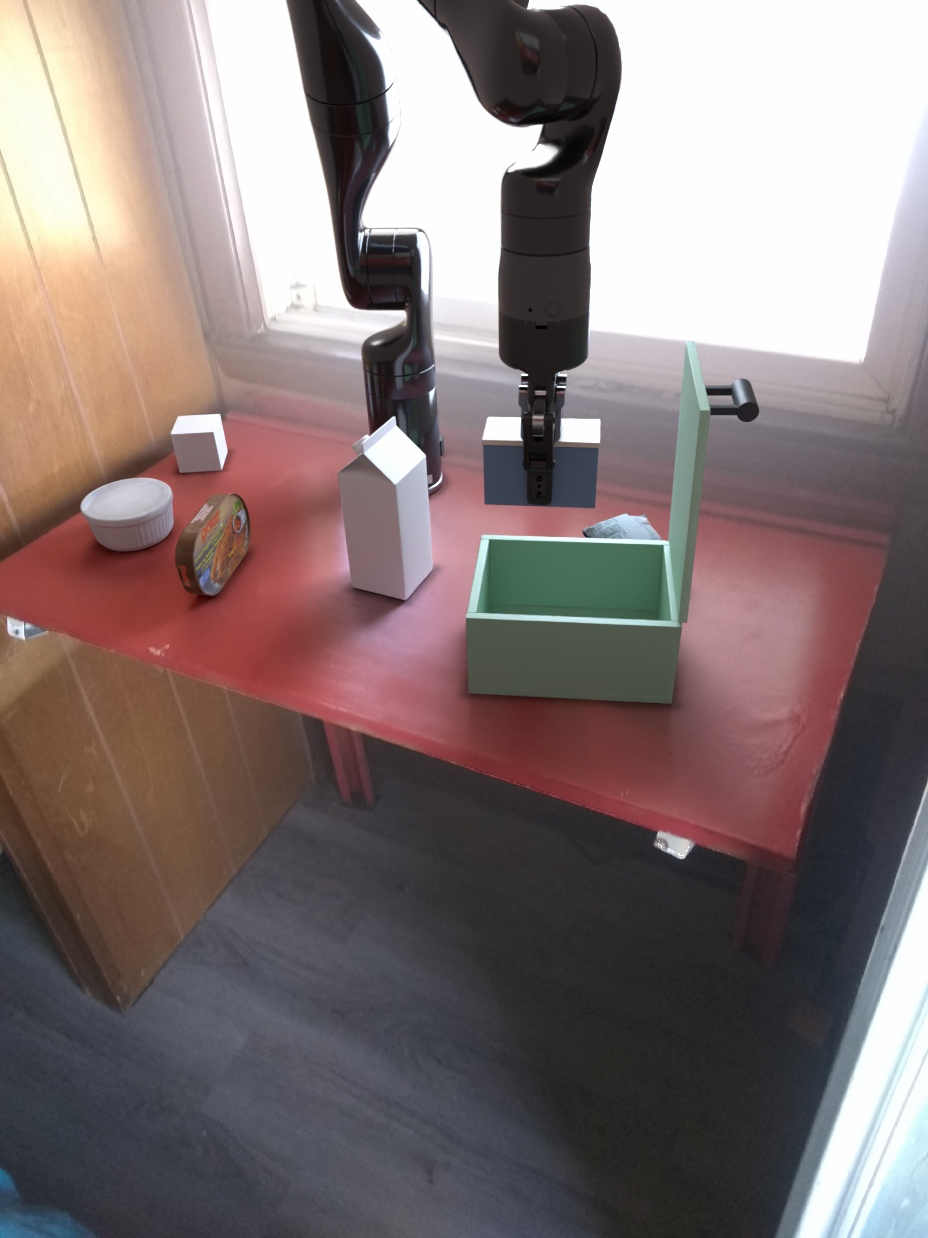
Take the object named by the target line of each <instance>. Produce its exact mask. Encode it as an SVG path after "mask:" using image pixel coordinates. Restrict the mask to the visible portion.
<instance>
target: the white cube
mask: <svg viewBox="0 0 928 1238" xmlns="http://www.w3.org/2000/svg"><path fill="white" fill-rule="evenodd" d="M224 431H225V430H224V428H223V422H222V417H221V413H213V414H212V413H211V414H210V413H209V414H196V415H195V414H194V415H193V414H192V415H177V418H176V420H175V423H174V425H173V427H172V430H171V431H170V439H171V443H172V447H173V451H174V456H175V459H176V464H177V467H178V471H179V474H184V473H202V472H215V471H216V472H217V471H223V468H224V464H225V462H226V458H227V455H228V452H229V451H228V450H229V449H228V446H227V442H226V436H225V432H224Z"/></svg>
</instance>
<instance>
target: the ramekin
mask: <svg viewBox="0 0 928 1238" xmlns="http://www.w3.org/2000/svg"><path fill="white" fill-rule="evenodd" d="M173 500H174V495H173V491H172V488H171V487H170V485H168V484H167V483H166V482H164V481H163V480H159V479H156V478H151V477H132V478H125V479H120V480H116V481H113V482H109V483H107V484H104V485H101V486H99V487H98V488H96V489H94V490H92V491H91V492H90V493H88V494H87V495H85V497H84V498H83V499H82V500H81V503H80V506H79V508H80V513H81V515H82V517H83V519H84V520H85V521H86V523H87V524H88V527H89V528H90V530H91V532H92V534H93V536H94V537H95V539H96V541H97V542H98V543H99V544H100V545H102V546H103V547H104V548H106V549H108V550H112V551H114V552H135V551H140V550H144V549H147V548H150V547H153V546H155V545H157V544H159V543H161V542H162V541H164V539H166V538H167V537H168V536H169V534H170V533H171V531H172V530H173V527H174V522H175V520H174V510H173Z"/></svg>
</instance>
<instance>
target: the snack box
mask: <svg viewBox="0 0 928 1238" xmlns="http://www.w3.org/2000/svg"><path fill="white" fill-rule="evenodd" d="M601 421H602V420H601V419H600V418H562V419H561V437H560V439H559V441H557V442H555V445H554V459H556V463H555V468H553V479H552V501H551V503H550V504H549V505H531V504H529V503H528V502H527V471H524V467H522V463H523V461H524V450H523V440H522V439H521V437H520V431H521V417H518V416H517V417H516V416H515V417H514V416H513V417H512V416H487V417H486V422H485V425H484V430H483V433H482V437H481V446H482V456H483V457H482V458H483V496H484V497H483V499H484V500H483V503H484V505H488V506H515V507H516V506H517V507H542V508H543V507H545V508H547V507H548V508H575V509H576V508H577V509H596V501H597V500H596V499H597V482H598V467H599V451H600V450H599V449H600V448H601V426H602V424H601V423H602V422H601ZM554 428H555V424H554ZM532 454H546V453H545V452H532Z"/></svg>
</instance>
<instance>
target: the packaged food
mask: <svg viewBox="0 0 928 1238" xmlns="http://www.w3.org/2000/svg"><path fill="white" fill-rule="evenodd" d="M647 516H648V514H647V513H643V514H640V515H629V514H628V513H627V512H626V513H623V514H620V515H617V516H615V517H612V518H608V519H605V520H603V521H600V522H597V523H595V524H594V525H591V526H587V527H584V528H582V529H581V531H582V535H583V536H584V538H600V539H631V540H662V541H665V540H664V539H663V538H662V537H661V536H660V535H659V533H658V531H657V530H656V528H654V527H653V526H652V525H651V523H650V521H649V520H648V517H647Z"/></svg>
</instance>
